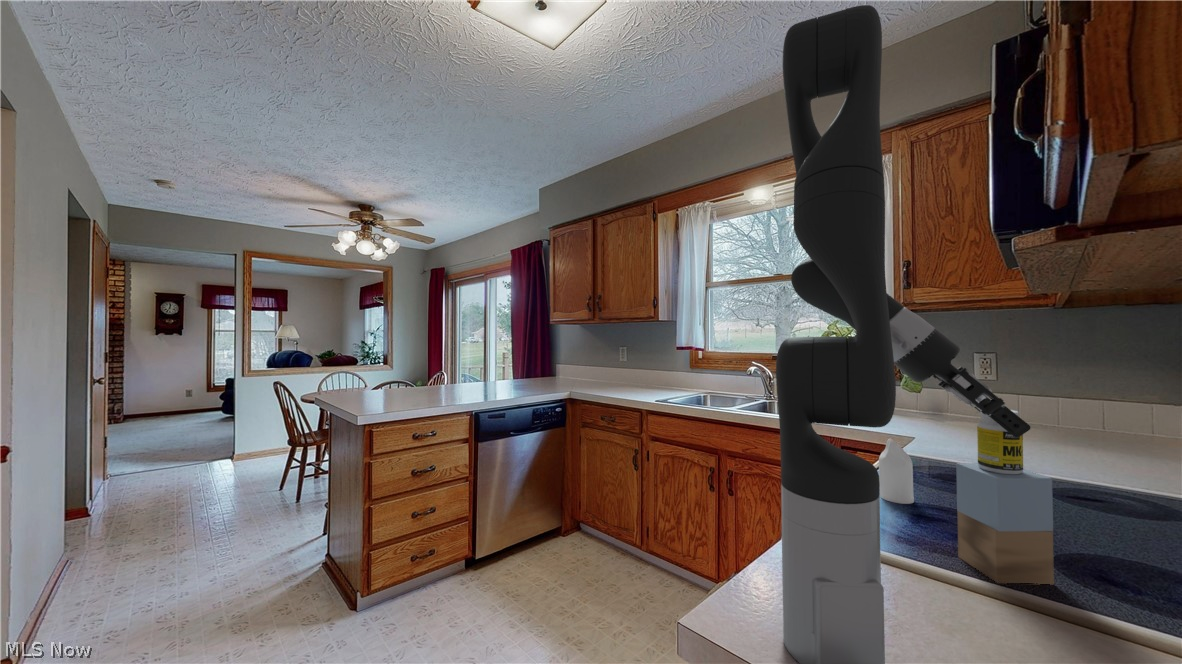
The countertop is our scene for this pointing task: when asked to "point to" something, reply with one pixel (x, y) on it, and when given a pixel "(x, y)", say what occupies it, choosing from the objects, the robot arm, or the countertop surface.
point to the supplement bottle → (998, 448)
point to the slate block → (1005, 498)
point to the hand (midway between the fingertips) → (1013, 426)
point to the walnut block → (1006, 552)
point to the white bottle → (896, 474)
